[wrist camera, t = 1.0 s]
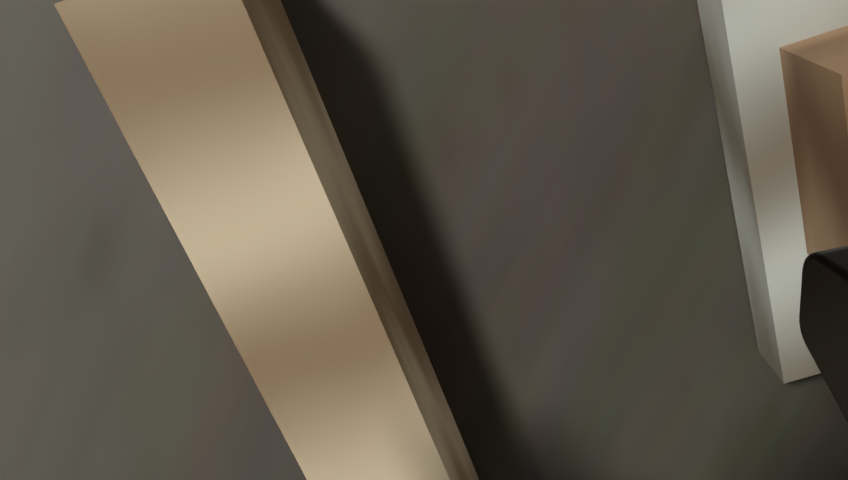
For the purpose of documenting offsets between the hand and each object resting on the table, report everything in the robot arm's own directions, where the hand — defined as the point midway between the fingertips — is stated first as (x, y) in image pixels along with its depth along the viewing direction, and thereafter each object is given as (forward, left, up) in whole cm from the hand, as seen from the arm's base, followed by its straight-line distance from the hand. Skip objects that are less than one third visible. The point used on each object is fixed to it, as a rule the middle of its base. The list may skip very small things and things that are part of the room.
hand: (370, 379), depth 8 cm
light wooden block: (-4, +3, -11) cm, 12 cm away
